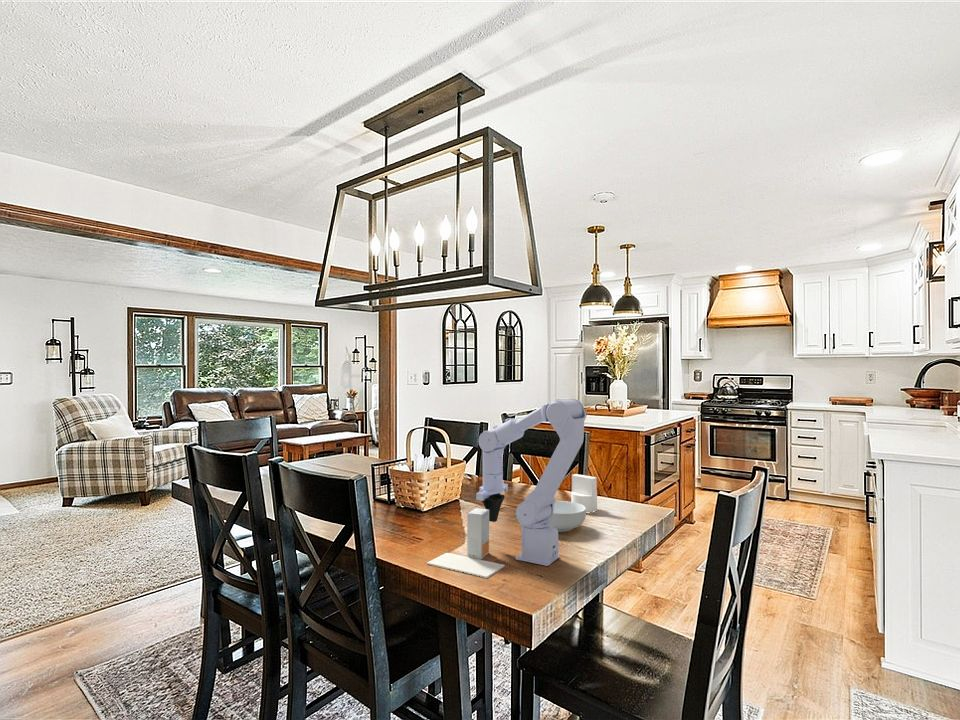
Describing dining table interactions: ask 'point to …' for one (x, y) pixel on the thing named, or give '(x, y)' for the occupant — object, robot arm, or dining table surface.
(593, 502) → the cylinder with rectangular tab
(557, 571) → the dining table surface
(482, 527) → the skincare box
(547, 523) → the robot arm
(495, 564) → the white rectangular slab
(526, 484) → the dining table surface
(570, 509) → the cereal bowl
